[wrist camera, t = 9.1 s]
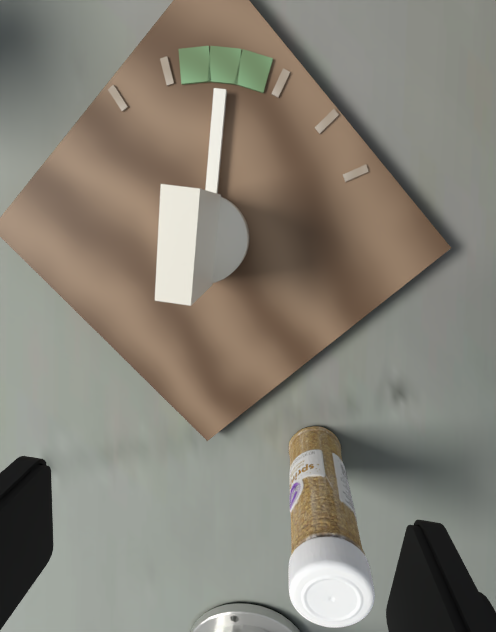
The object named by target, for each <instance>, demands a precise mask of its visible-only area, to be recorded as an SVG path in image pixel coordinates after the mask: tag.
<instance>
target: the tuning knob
mask: <svg viewBox="0 0 496 632" xmlns="http://www.w3.org/2000/svg"><path fill="white" fill-rule="evenodd" d="M226 97H227V90H226V89H219V88H214V92H213V104H212V116H211V128H210V140H209V152H208V164H207V176H206V188H205V190H203V189H199V188H191V187H183V186H174V185H166V184H161V188H160V207H159V226H158V245H157V265H156V284H155V301H161V302H168V303H175V304H182V305H189V306H191V305H192V304H193V303H194V302H195V301H196V300H197V299H198V298H200V297H201V296H202V295H203V294H204V293H205V292H206V291H207V290H208V289H209V288H210V287H211V286H212V284H213V283H214V282H217V281H220V280H222V279H224V278H226V277H227V276H229V275H230V274H231V273H232V272H234V271H235V270H236V268H237V267H238V266H239V265H240V264H241V263H242V261H243V260H244V258H245V256H246V253H247V250H248V246H249V230H248V225H247V223H246V220H245V218H244V216H243V214H242V213H241V211H240V210H239V209H238V208H237V207H236V206H235V205H234V204H233V203H232V202H230V201H229V200H227V199H225V198H223V197H221V195H220V194H218V184H219V173H220V162H221V151H222V140H223V129H224V118H225V108H226Z"/></svg>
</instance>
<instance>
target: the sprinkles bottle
mask: <svg viewBox="0 0 496 632" xmlns="http://www.w3.org/2000/svg"><path fill="white" fill-rule="evenodd" d="M289 454H290V513H291V537H292V540H291V542H292V554H291V557H290V560H289V594H290V599H291V602H292V604H293V606H294V607H295V609H296V610H297V611H298V612H299V613H300V614H301V615H302V616H303V617H304V618H306V619H307V620H309V621H311V622H313V623H315V624H318V625H321V626H325V627H345V626H349V625H352V624H355V623H357V622H359V621H360V620H362V619H363V618H364V617H365V616H366V615H367V614H368V613H369V612H370V610H371V609H372V606H373V603H374V598H375V593H374V586H373V581H372V576H371V571H370V567H369V563H368V560H367V558H366V556H365V553H364V551H363V549H362V545H361V541H360V537H359V532H358V527H357V518H356V514H355V509H354V505H353V501H352V496H351V492H350V487H349V483H348V478H347V474H346V470H345V466H344V464H343V461H342V457H341V445H340V442H339V440H338V438H337V437H336V436H335V435H334V434H333V433H332V432H331V431H329V430H328V429H326V428H324V427H318V426H312V427H306V428H304V429H301V430H299V431H298V432H297V433H296V434H295V435H294V436H293V437H292V438H291V441H290V442H289Z"/></svg>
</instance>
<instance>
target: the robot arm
mask: <svg viewBox="0 0 496 632" xmlns="http://www.w3.org/2000/svg"><path fill="white" fill-rule="evenodd" d="M52 551H53V523H52V490H51V469H50V467H49V466H46V462H45V460H43V459H39V458H33V457H26V456H21V457H19V458H17V459H16V460H15V461H14V462H13V463H11V464H10V465H9V466H8V467H7V468H6V469H5V470H3V471H2V472H1V473H0V630H1V628H2V627H3V625H4V624H5V623H6V621H7V620H8V618H9V617H10V616H11V614H12V613H13V611H14V610H15V609H16V607H17V606H18V604H19V603H20V601H21V600H22V599H23V597H24V596H25V594H26V593H27V592H28V590H29V589H30V587H31V586H32V584H33V583H34V582H35V580H36V579H37V577H38V576H39V575H40V573H41V572H42V570H43V569H44V567H45V566H46V565H47V563H48V561H49V559H50V557H51V555H52ZM386 618H387V625H388V630H389V632H496V612H495V610H494V608H493V607H492V605H491V603H490V602H489V600H488V599H487V597H486V596H485V595H483V594H482V593H480V592H478V590H477V588H476V586H475V584H474V582H473V580H472V578H471V576H470V575H469V573H468V571H467V569H466V567H465V565H464V563H463V561H462V559H461V557H460V555H459V553H458V552H457V550H456V548H455V546H454V544H453V542H452V540H451V538H450V536H449V534H448V532H447V530H446V528H445V527H444V526H443V525H442V524H441V523H436V522H430V521H423V520H416V521H415V523H414V525H408V526H407V529H406V533H405V537H404V541H403V545H402V548H401V552H400V556H399V560H398V564H397V568H396V572H395V576H394V580H393V584H392V588H391V592H390V596H389V600H388V604H387V609H386ZM191 632H300V631H299V629H298V628H297V627H296V626H295V625H294V624H293V623H292V622H291V621H289V620H288V619H287V618H285V617H284V616H282V615H281V614H279V613H277V612H275V611H273V610H271V609H268V608H265V607H262V606H258V605H253V604H243V603H235V604H226V605H223V606H219V607H216V608H214V609H212V610H210V611H208V612H206V613H205V614H203V615H202V616H201V617H200V618H199V619H198V620H197V621H196V622H195V624H194V625H193V627H192V630H191Z"/></svg>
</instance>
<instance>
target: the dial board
mask: <svg viewBox="0 0 496 632" xmlns="http://www.w3.org/2000/svg"><path fill="white" fill-rule="evenodd" d="M214 88H219V89H226V90H227V97H226V108H225V118H224V129H223V140H222V151H221V162H220V173H219V184H218V194H220V195H221V197H223V198H225V199H227V200H229V201H230V202H232V203H233V204H234V205H235V206H236V207H237V208H238V209H239V210H240V211H241V213H242V214H243V216H244V218H245V220H246V223H247V225H248V230H249V246H248V250H247V253H246V256H245V258H244V260H243V261H242V263H241V264H240V265H239V266H238V267H237V268H236V270H235V271H234V272H232V273H231V274H230V275H229V276H227V277H226V278H224V279H222V280H220V281H217V282H214V283H213V284H212V286H211V287H210V288H209V289H208V290H207V291H206V292H205V293H204V294H203V295H202V296H201V297H200V298H198V299H197V300H196V301H195V302H194V303H193V304H192V305H191V306H189V305H182V304H175V303H168V302H161V301H155V284H156V265H157V245H158V226H159V207H160V188H161V184H166V185H174V186H183V187H191V188H199V189H203V190H205V188H206V176H207V164H208V152H209V140H210V128H211V116H212V104H213V92H214ZM0 237H1V238H2V239H3V240H4V241H5V242H6V243H7V244H8V245H9V246H10V247H11V248H12V249H13V250H14V251H15V252H17V253H18V254H19V255H20V256H21V257H22V258H23V259H24V260H25V261H26V262H27V263H28V264H29V265H30V266H31V267H32V268H33V269H34V270H35V271H36V272H37V273H38V274H39V275H40V276H41V277H42V278H43V279H44V280H45V281H46V282H47V283H48V284H49V285H50V286H51V287H52V288H53V289H54V290H55V291H56V292H57V293H58V294H59V295H60V296H61V297H62V298H63V299H64V300H65V301H66V302H67V303H68V304H69V305H70V306H71V307H72V308H73V309H74V310H75V311H76V312H77V313H78V314H79V315H80V316H81V317H82V318H83V319H84V320H85V321H86V322H87V323H88V324H89V325H90V326H91V327H92V328H93V329H94V330H96V331H97V332H98V333H99V334H100V335H101V336H102V337H103V338H104V339H105V340H106V341H107V342H108V343H109V344H110V345H111V346H112V347H113V348H114V349H115V350H116V351H117V352H118V353H119V354H120V355H121V356H122V357H123V358H124V359H125V360H126V361H127V362H128V363H129V364H130V365H131V366H132V367H133V368H134V369H135V370H136V371H137V372H138V373H139V374H140V375H141V376H142V377H143V378H144V379H145V380H146V381H147V382H148V383H149V384H150V385H151V386H152V387H153V388H154V389H155V390H156V391H157V392H158V393H159V394H160V395H161V396H162V397H163V398H164V399H165V400H166V401H167V402H168V403H169V404H170V405H171V406H172V407H174V408H175V409H176V410H177V411H178V412H179V413H180V414H181V415H182V416H183V417H184V418H185V419H186V420H187V421H188V422H189V423H190V424H191V425H192V426H193V427H194V428H195V429H196V430H197V431H198V432H199V433H200V434H201V435H202V436H203V437H204V438H205V439H206V440H207V441H208V440H209V439H210V438H212V437H213V436H214V435H215V434H217V433H218V432H219V431H221V430H222V429H223V428H224V427H226V426H227V425H228V424H229V423H231V422H232V421H233V420H234V419H236V418H237V417H238V416H239V415H241V414H242V413H243V412H245V411H246V410H247V409H248V408H250V407H251V406H252V405H253V404H255V403H256V402H257V401H258V400H260V399H261V398H262V397H263V396H265V395H266V394H267V393H269V392H270V391H271V390H272V389H274V388H275V387H276V386H277V385H279V384H280V383H281V382H282V381H284V380H285V379H286V378H288V377H289V376H290V375H291V374H293V373H294V372H295V371H296V370H298V369H299V368H300V367H301V366H303V365H304V364H305V363H306V362H308V361H309V360H310V359H312V358H313V357H314V356H315V355H317V354H318V353H319V352H320V351H322V350H323V349H324V348H325V347H327V346H328V345H329V344H331V343H332V342H333V341H334V340H336V339H337V338H338V337H339V336H341V335H342V334H343V333H344V332H346V331H347V330H348V329H349V328H351V327H352V326H353V325H355V324H356V323H357V322H358V321H360V320H361V319H362V318H363V317H365V316H366V315H367V314H368V313H370V312H371V311H372V310H374V309H375V308H376V307H377V306H379V305H380V304H381V303H382V302H384V301H385V300H386V299H387V298H389V297H390V296H391V295H392V294H394V293H395V292H396V291H398V290H399V289H400V288H401V287H403V286H404V285H405V284H406V283H408V282H409V281H410V280H411V279H413V278H414V277H415V276H417V275H418V274H419V273H420V272H422V271H423V270H424V269H425V268H427V267H428V266H429V265H430V264H432V263H433V262H434V261H435V260H437V259H438V258H439V257H441V256H442V255H443V254H444V253H446V252H447V251H448V250H449V249H451V247H450V246H449V245H448V243H447V242H446V241H445V240H444V238H443V237H442V236H441V235H440V234H439V232H438V231H437V230H436V229H435V227H434V226H433V225H432V224H431V223H430V221H429V220H428V219H427V218H426V216H425V215H424V214H423V213H422V212H421V210H420V209H419V208H418V207H417V205H416V204H415V203H414V202H413V200H412V199H411V198H410V197H409V196H408V194H407V193H406V192H405V191H404V189H403V188H402V187H401V186H400V185H399V183H398V182H397V181H396V180H395V178H394V177H393V176H392V175H391V174H390V172H389V171H388V170H387V169H386V167H385V166H384V165H383V164H382V163H381V161H380V160H379V159H378V158H377V156H376V155H375V154H374V153H373V151H372V150H371V149H370V148H369V147H368V145H367V144H366V143H365V142H364V140H363V139H362V138H361V137H360V136H359V134H358V133H357V132H356V131H355V129H354V128H353V127H352V126H351V125H350V123H349V122H348V121H347V120H346V118H345V117H344V116H343V115H342V114H341V112H340V111H339V110H338V109H337V107H336V106H335V105H334V104H333V102H332V101H331V100H330V99H329V98H328V96H327V95H326V94H325V93H324V91H323V90H322V89H321V88H320V87H319V85H318V84H317V83H316V82H315V80H314V79H313V78H312V77H311V76H310V74H309V73H308V72H307V71H306V69H305V68H304V67H303V66H302V65H301V63H300V62H299V61H298V60H297V58H296V57H295V56H294V55H293V53H292V52H291V51H290V50H289V49H288V47H287V46H286V45H285V44H284V42H283V41H282V40H281V39H280V38H279V36H278V35H277V34H276V33H275V31H274V30H273V29H272V28H271V27H270V25H269V24H268V23H267V22H266V20H265V19H264V18H263V17H262V16H261V14H260V13H259V12H258V11H257V9H256V8H255V7H254V6H253V5H252V3H251V2H250V1H249V0H174V1H173V2H172V3H171V4H170V6H169V7H168V8H167V9H166V11H165V12H164V13H163V14H162V16H161V17H160V18H159V19H158V21H157V22H156V23H155V24H154V26H153V27H152V28H151V29H150V31H149V32H148V33H147V34H146V36H145V37H144V38H143V39H142V41H141V42H140V43H139V44H138V46H137V47H136V48H135V49H134V51H133V52H132V53H131V54H130V56H129V57H128V58H127V59H126V61H125V62H124V63H123V65H122V66H121V67H120V68H119V70H118V71H117V72H116V73H115V75H114V76H113V77H112V78H111V80H110V81H109V82H108V83H107V85H106V86H105V87H104V88H103V90H102V91H101V92H100V93H99V95H98V96H97V97H96V98H95V100H94V101H93V102H92V103H91V105H90V106H89V107H88V108H87V110H86V111H85V112H84V113H83V115H82V116H81V117H80V118H79V120H78V121H77V122H76V123H75V125H74V126H73V127H72V128H71V130H70V131H69V132H68V133H67V135H66V136H65V137H64V138H63V140H62V141H61V142H60V143H59V145H58V146H57V147H56V148H55V150H54V151H53V152H52V153H51V155H50V156H49V157H48V158H47V160H46V161H45V162H44V164H43V165H42V166H41V167H40V169H39V170H38V171H37V172H36V174H35V175H34V176H33V177H32V179H31V180H30V181H29V182H28V184H27V185H26V186H25V187H24V189H23V190H22V191H21V192H20V194H19V195H18V196H17V197H16V199H15V200H14V201H13V202H12V204H11V205H10V206H9V207H8V209H7V210H6V211H5V212H4V214H3V215H2V216H1V217H0Z"/></svg>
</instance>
